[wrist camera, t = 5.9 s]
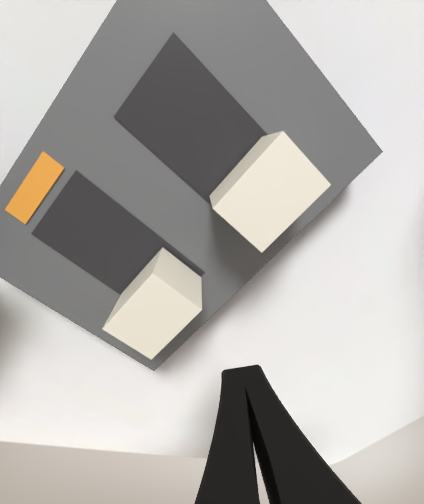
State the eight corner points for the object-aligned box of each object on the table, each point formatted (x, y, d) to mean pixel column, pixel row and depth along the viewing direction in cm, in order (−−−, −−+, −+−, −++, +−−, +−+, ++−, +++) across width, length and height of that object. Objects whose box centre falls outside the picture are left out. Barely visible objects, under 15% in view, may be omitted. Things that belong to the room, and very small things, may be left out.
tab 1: (201, 277, 16) (202, 309, 12) (160, 319, 17) (151, 359, 13) (162, 247, 15) (152, 273, 12) (121, 292, 16) (102, 329, 13)
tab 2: (300, 177, 14) (331, 184, 11) (247, 231, 15) (261, 252, 12) (261, 136, 13) (283, 130, 10) (209, 195, 14) (212, 208, 11)
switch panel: (351, 152, 17) (384, 151, 14) (159, 342, 21) (153, 372, 18) (187, -50, 13) (183, -109, 10) (-3, 236, 18) (-43, 252, 15)
